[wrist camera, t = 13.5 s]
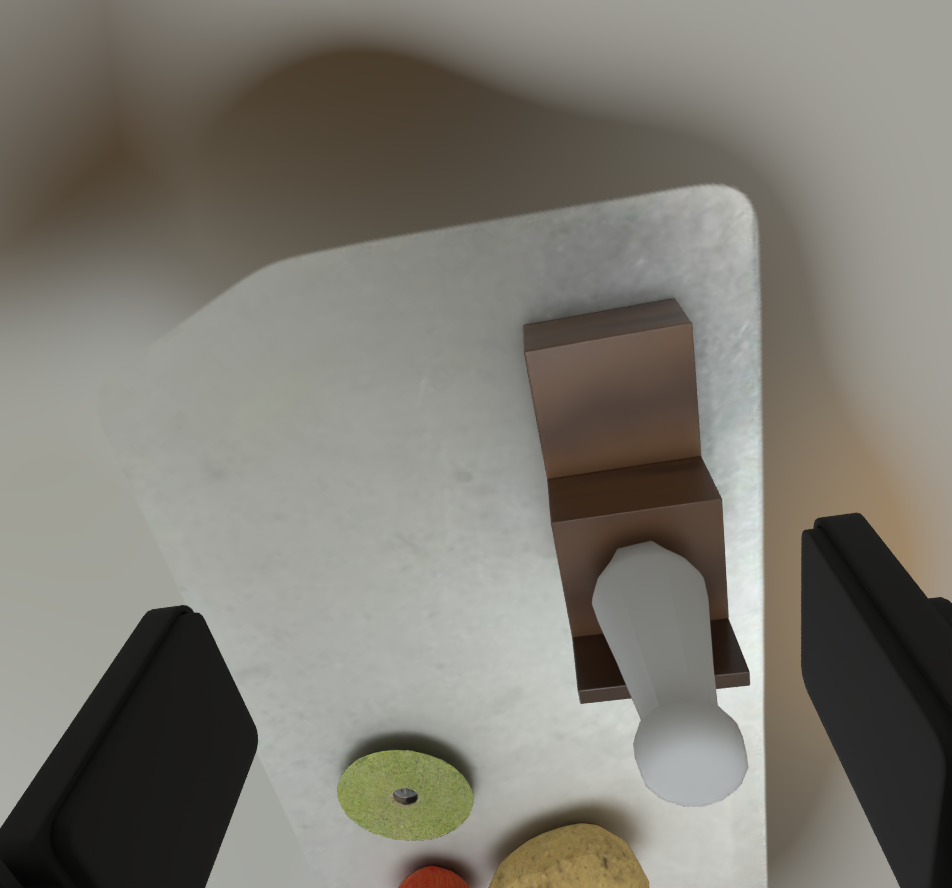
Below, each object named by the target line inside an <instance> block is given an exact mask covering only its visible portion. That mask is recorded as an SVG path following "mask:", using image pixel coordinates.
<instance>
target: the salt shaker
mask: <svg viewBox="0 0 952 888" xmlns="http://www.w3.org/2000/svg"><path fill="white" fill-rule="evenodd" d="M592 605H593V608H594V611H595V614H596V617H597V619H598V622H599V625H600V627H601V629H602V631H603V633H604V636H605V638H606V640H607V642H608V644H609V647H610V649H611V651H612V653H613V655H614V657H615V660H616V662H617V664H618V667H619V669H620V671H621V674H622V676H623V679H624V681H625V683H626V686H627V688H628V690H629V693H630V695H631V698H632V700H633V702H634V705H635V707H636V709H637V712H638V714H639V716H640V719H641V722H640V724H639V727H638V730H637V732H636V735H635V739H634V743H633V746H634V755H635V759H636V762H637V765H638V768H639V770H640V773H641V776H642V778H643V781H644V783H645V786H646V787H647V788H648V789H650V790H651V791H652V792H653V793H654V794H656V795H657V796H658V797H659V798H661V799H663V800H665V801H667V802H670V803H674V804H677V805H681V806H684V807H690V806H707V805H710V804H713V803H716V802H718V801H721V800H723V799H725V798H726V797H727V796H729V795H730V794H731V793H733V792H734V791H735V790H736V789H737V788H738V787H739V786H740V785H741V784H742V781H743V779H744V777H745V774H746V772H747V770H748V762H747V754H746V750H745V745H744V741H743V736H742V734H741V732H740V729H739V727H738V725H737V723H736V722H735V721H734V720H733V719H732V718H731V717H730V716H729V715H728V714H727V713H726V712H724V711H723V710H722V709H721V708H720V707H719V706H718V703H717V694H716V685H715V676H714V667H713V654H712V641H711V627H710V614H709V601H708V595H707V590H706V586H705V581H704V578H703V576H702V575H701V573H700V572H699V571H698V570H697V569H696V568H695V567H694V566H693V565H692V564H690V563H689V562H688V561H687V560H686V559H685V558H684V557H682V556H680V555H678V554H676V553H673V552H671V551H669V550H667V549H665V548H663V547H662V546H660V545H658V544H657V543H655V542H653V541H647V542H643V543H639V544H635V545H630V546H626V547H622V548H618V549H617V551H616V552H615V554H614V556H613V558H612V560H611V561H610V563H609V564H608V565H607V567H606V568H605V569H604V571H603V572H602V573H601V575H600V576H599V577H598V579H597V583H596V587H595V590H594V594H593V598H592Z"/></svg>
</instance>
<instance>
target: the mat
mask: <svg viewBox="0 0 952 888" xmlns="http://www.w3.org/2000/svg"><path fill="white" fill-rule="evenodd" d="M468 784H469V783H468V782H467V781H466V780H465V778H464V776H463V775H462V774H461V773H459V772H458V771H457V769H455V768H454V767H453V766H451V765H450V764H448V763H446V762H445V761H444V760H441V759H437V758H435V757H433V756H430V755H427V754H423V753H419V752H414V751H409V750H406V751H404V750H400V751H399V750H391V751H389V750H388V751H380V752H377V753H372V754H370V755H366V756H364V757H362V758H359V759H358V760H356V761H355V762H353V763H352V764H351V765H350V766H349V767H347V769H346V771H345V772H344V773H343V775H342V776H341V778H340V780H339V783H338V790H337V792H338V799H339V802H340V805H341V807H342V809H343V810H344V811H345V813H346V814H347V815H348V817H349V818H350V819H352V820H353V821H354V822H355V823H357V824H358V825H359V826H361V827H362V828H364V829H365V830H368V831H369V832H372V833H374V834H376V835H377V834H378V835H379V836H383V837H387V838H391V839H399V840H407V841H410V840H412V841H413V840H415V841H416V840H427V839H429V840H430V839H434V838H438V837H441V836H443V835H445V834H448V833H449V832H451V831H453V830H455V829H456V828H458V827H459V826H460V825H461V824H463V822H464V821H465V820H466V819H467V818H468V816H469V815H470V813H471V811H472V806H473V793H472V790H471V787H470V785H468Z"/></svg>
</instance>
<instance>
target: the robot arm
mask: <svg viewBox="0 0 952 888" xmlns="http://www.w3.org/2000/svg"><path fill="white" fill-rule="evenodd" d="M801 553H802V557H801V561H802V562H801V565H802V566H801V568H802V569H801V570H802V571H801V577H802V578H801V582H802V583H801V584H802V585H801V590H802V591H801V667H802V675H803V679H804V683H805V687H806V689H807V691H808V694H809V696H810V698H811V700H812V702H813V705H814V707H815V709H816V711H817V713H818V715H819V717H820V719H821V722H822V724H823V726H824V728H825V730H826V732H827V734H828V736H829V738H830V740H831V743H832V745H833V747H834V749H835V751H836V753H837V755H838V757H839V759H840V761H841V764H842V766H843V768H844V770H845V772H846V774H847V776H848V778H849V781H850V783H851V785H852V787H853V789H854V791H855V793H856V795H857V797H858V799H859V802H860V804H861V806H862V808H863V810H864V812H865V814H866V816H867V818H868V821H869V823H870V825H871V827H872V829H873V831H874V833H875V835H876V837H877V839H878V842H879V844H880V846H881V848H882V850H883V852H884V854H885V856H886V858H887V861H888V863H889V865H890V867H891V869H892V871H893V873H894V875H895V877H896V880H897V882H898V884H899V886H900V888H952V603H951V602H950V601H949V600H947V599H944V598H942V597H938V598H929V599H928V598H927V597H926V595H925V594H924V593H923V591H922V590H921V589H920V588H919V586H918V585H917V584H916V583H915V581H914V580H913V579H912V577H911V576H910V575H909V574H908V572H907V571H906V570H905V569H904V567H903V566H902V565H901V564H900V562H899V561H898V560H897V559H896V557H895V556H894V555H893V554H892V552H891V551H890V549H889V548H888V547H887V546H886V544H885V543H884V542H883V541H882V539H881V538H880V537H879V535H878V534H877V533H876V532H875V530H874V529H873V528H872V527H871V525H870V524H869V523H868V522H867V520H866V519H865V518H864V517H863V516H862V515H861V514H860V513H851V514H843V515H836V516H829V517H822V518H817V519H816V520H815V522H814V528H813V529H808V530H804V531H803V533H802V551H801ZM257 745H258V734H257V729H256V726H255V724H254V722H253V720H252V718H251V716H250V713H249V711H248V709H247V707H246V705H245V703H244V701H243V699H242V697H241V695H240V693H239V690H238V688H237V686H236V684H235V682H234V680H233V678H232V676H231V674H230V672H229V669H228V667H227V665H226V663H225V661H224V659H223V657H222V655H221V653H220V651H219V649H218V646H217V644H216V642H215V640H214V638H213V636H212V634H211V632H210V630H209V628H208V626H207V623H206V621H205V619H204V618H203V616H202V615H201V614H200V613H194V612H193V610H192V609H191V608H190V607H188V606H185V605H181V606H174V607H167V608H159V609H152V610H150V611H148V612H147V613H146V614H145V615H144V616H143V618H142V619H141V621H140V622H139V624H138V625H137V627H136V628H135V630H134V631H133V633H132V634H131V635H130V637H129V639H128V640H127V641H126V643H125V644H124V646H123V647H122V649H121V650H120V652H119V653H118V655H117V656H116V658H115V659H114V661H113V662H112V664H111V665H110V667H109V668H108V670H107V671H106V673H105V674H104V675H103V677H102V679H101V680H100V681H99V683H98V684H97V686H96V687H95V689H94V690H93V692H92V693H91V695H90V696H89V698H88V699H87V701H86V702H85V704H84V705H83V707H82V708H81V710H80V711H79V713H78V714H77V716H76V717H75V718H74V720H73V721H72V723H71V724H70V726H69V727H68V729H67V730H66V732H65V733H64V735H63V736H62V738H61V739H60V741H59V742H58V744H57V745H56V747H55V748H54V750H53V751H52V753H51V754H50V755H49V757H48V759H47V760H46V761H45V763H44V764H43V766H42V767H41V769H40V770H39V772H38V773H37V775H36V776H35V778H34V779H33V781H32V782H31V784H30V785H29V787H28V788H27V789H26V791H25V792H24V794H23V795H22V797H21V799H20V800H19V801H18V803H17V804H16V806H15V807H14V809H13V810H12V812H11V813H10V815H9V816H8V818H7V819H6V821H5V822H4V824H3V825H2V827H1V828H0V888H205V886H206V884H207V881H208V878H209V876H210V873H211V870H212V868H213V865H214V862H215V860H216V857H217V854H218V852H219V849H220V847H221V844H222V841H223V838H224V836H225V833H226V831H227V828H228V825H229V823H230V820H231V817H232V814H233V812H234V809H235V806H236V804H237V801H238V798H239V796H240V793H241V790H242V788H243V785H244V783H245V780H246V777H247V774H248V772H249V769H250V767H251V764H252V761H253V759H254V756H255V753H256V750H257Z"/></svg>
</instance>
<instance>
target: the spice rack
mask: <svg viewBox="0 0 952 888" xmlns="http://www.w3.org/2000/svg"><path fill="white" fill-rule="evenodd" d="M523 337H524V354H525V360H526V366H527V371H528V377H529V382H530V388H531V393H532V399H533V404H534V410H535V415H536V421H537V426H538V432H539V437H540V443H541V448H542V454H543V459H544V465H545V470H546V476H547V482H548V494H549V506H550V517H551V526H552V531H553V537H554V542H555V548H556V553H557V558H558V564H559V569H560V575H561V580H562V585H563V591H564V596H565V602H566V607H567V613H568V618H569V623H570V629H571V634H572V641H573V650H574V660H575V669H576V679H577V688H578V695H579V700H580V703H581V704H584V703H593V702H603V701H612V700H621V699H630V698H631V695H630V693H629V690H628V688H627V686H626V683H625V681H624V679H623V676H622V674H621V671H620V669H619V667H618V664H617V662H616V660H615V657H614V655H613V653H612V651H611V649H610V647H609V644H608V642H607V640H606V638H605V636H604V633H603V631H602V629H601V627H600V625H599V622H598V619H597V617H596V614H595V611H594V608H593V605H592V598H593V594H594V590H595V587H596V583H597V579H598V577H599V576H600V575H601V573H602V572H603V571H604V569H605V568H606V567H607V565H608V564H609V563H610V561H611V560H612V558H613V556H614V554H615V552H616V551H617V549H618V548H622V547H626V546H630V545H635V544H639V543H643V542H647V541H653V542H655V543H657V544H658V545H660V546H662V547H663V548H665V549H667V550H669V551H671V552H673V553H676V554H678V555H680V556H682V557H684V558H685V559H686V560H687V561H688V562H689V563H690V564H692V565H693V566H694V567H695V568H696V569H697V570H698V571H699V572H700V573H701V575H702V576H703V578H704V581H705V586H706V590H707V595H708V601H709V614H710V627H711V641H712V654H713V667H714V676H715V685H716V689H721V688H730V687H740V686H749V685H750V673H749V669H748V667H747V664H746V662H745V659H744V657H743V654H742V652H741V649H740V646H739V644H738V641H737V639H736V636H735V634H734V631H733V629H732V626H731V624H730V621H729V619H728V618H729V615H728V598H727V580H726V562H725V544H724V526H723V509H722V498H721V496H720V494H719V492H718V490H717V488H716V486H715V484H714V482H713V480H712V478H711V475H710V473H709V471H708V469H707V467H706V465H705V463H704V461H703V459H702V457H701V444H700V430H699V416H698V401H697V387H696V372H695V358H694V343H693V329H692V322H691V321H690V319H689V318H688V317H687V315H686V314H685V312H684V311H683V310H682V308H681V307H680V305H679V304H678V303H677V301H676V300H675V299H668V300H663V301H657V302H652V303H646V304H640V305H635V306H629V307H624V308H618V309H613V310H607V311H602V312H596V313H590V314H585V315H579V316H574V317H568V318H563V319H557V320H552V321H546V322H540V323H535V324H529V325H524V326H523Z"/></svg>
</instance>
